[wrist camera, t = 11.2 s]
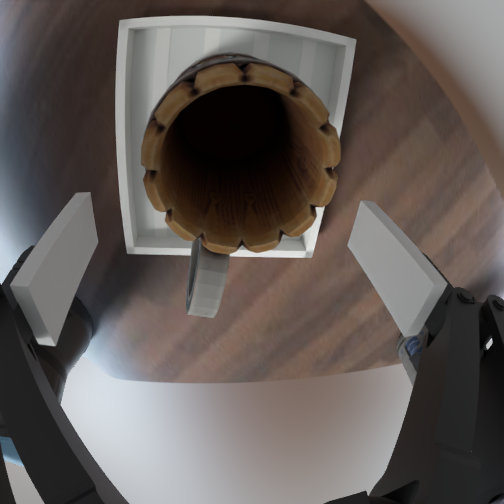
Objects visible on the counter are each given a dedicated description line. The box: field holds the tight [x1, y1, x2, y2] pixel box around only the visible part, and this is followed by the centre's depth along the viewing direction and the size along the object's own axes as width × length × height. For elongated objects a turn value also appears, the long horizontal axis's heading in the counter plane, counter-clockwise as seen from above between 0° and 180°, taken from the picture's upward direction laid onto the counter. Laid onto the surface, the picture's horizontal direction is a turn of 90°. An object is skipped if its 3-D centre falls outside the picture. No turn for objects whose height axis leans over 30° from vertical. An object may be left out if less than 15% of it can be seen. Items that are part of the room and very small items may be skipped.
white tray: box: [115, 16, 356, 258], centre depth 25 cm, size 19×22×3 cm
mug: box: [141, 52, 341, 318], centre depth 19 cm, size 16×11×15 cm
